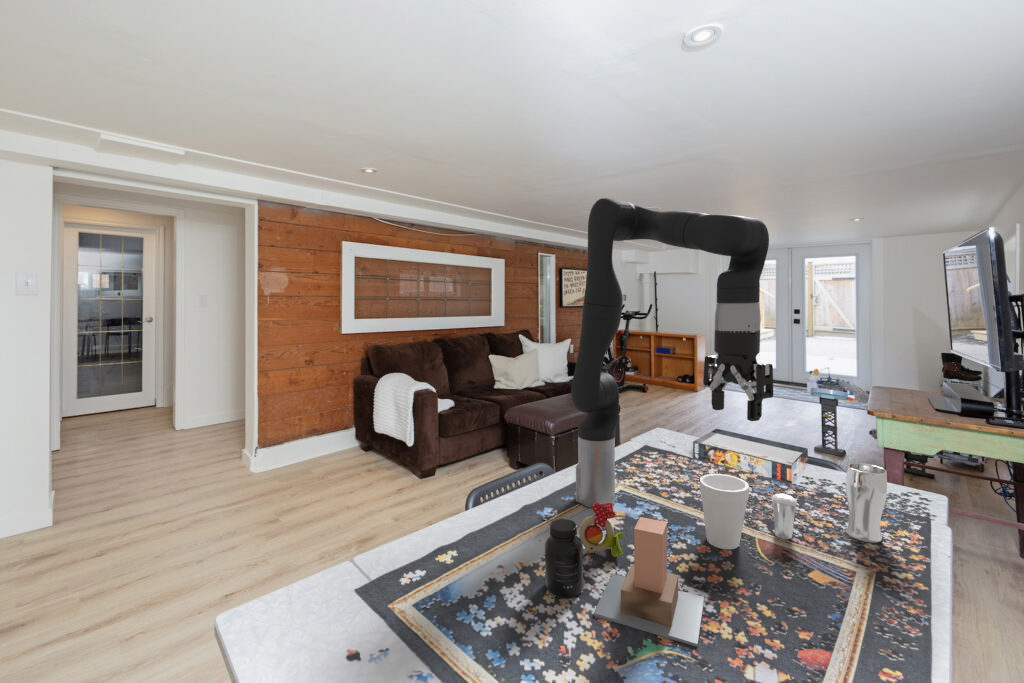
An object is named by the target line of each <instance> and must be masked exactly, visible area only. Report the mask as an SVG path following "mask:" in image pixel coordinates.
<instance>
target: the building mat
mask: <svg viewBox="0 0 1024 683" xmlns="http://www.w3.org/2000/svg"><path fill="white" fill-rule="evenodd" d="M625 578H626V576H623V575H619V574H616V573H611V575H610V578H609V580H608V582H607V584H606V587H604V588H605V589H604V590H603V592H602V594H601V597H600V598H599V601H598V603H597V605H596V606H595V609H594V611H593V617H596V618H599V619H603V620H605V621H606V620H607V621H609V622H613V623H616V624H620V625H624V626H625V627H629V628H633V629H636V630H639V631H643V632H647V633H649V634H653V635H656V636H660V637H663V638H666V639H669V640H673V641H676V642H679V643H682V644H686V645H689V646H692V647H696V648H698V646H699V640H700V639H699V637H700V634H701V633H700V631H701V626H702V617H703V609H704V603H705V596H701V595H698V594H694V593H692V592H691V593H690V592H686V591H682V590H679V589H678V600H677V605H676V609H675V614H674V618H673V622H672V627H669V626H666V625H662V624H659V623H655V622H652V621H648V620H645V619H641V618H638V617H635V616H631V615H628V614H624V613H621V588H622V585H623V583H624V581H625Z"/></svg>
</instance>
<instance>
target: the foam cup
mask: <svg viewBox="0 0 1024 683" xmlns="http://www.w3.org/2000/svg"><path fill="white" fill-rule="evenodd" d="M699 480H700V481H699V492H700V495H701V496H700V497H701V502H702V512H703V520H704V528H705V535H706V541H707V542H708V543H709V544H710V545H711V546H714V547H715V548H719V549H721V550H735V549H738V547H740V542H741V538H742V533H743V532H742V531H743V528H744V527H743V526H744V520H745V516H746V509H747V503H748V500H749V498H750V486H749V483H748V482H746V481H745V480H744V479H741V478H739V477H737V476H732V475H728V474H724V473H721V474H720V473H719V474H718V473H717V474H716V473H711V474H704V475H703V476H701V477H700V478H699Z"/></svg>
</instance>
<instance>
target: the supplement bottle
mask: <svg viewBox="0 0 1024 683" xmlns="http://www.w3.org/2000/svg"><path fill="white" fill-rule="evenodd" d="M544 556H545V557H544V559H545V564H544V565H545V585H546V586H545V587H546V589H547V591H548V592H549V593H550V594H551V595H552V596H555V597H557V598H561V599H571V598H575V597H576V596H578V595H579V594H581V593H582V591H583V589H584V545H583V544H582V541H581V540H580V538H579V532H578V526H577V523H576V522H575V521H574V520H572V519H567V518H558V519H554V520H553V521H552V522H550V524H549V535H548V536H547V538H546V540H545V542H544Z"/></svg>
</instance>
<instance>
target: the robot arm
mask: <svg viewBox="0 0 1024 683" xmlns="http://www.w3.org/2000/svg"><path fill="white" fill-rule="evenodd" d="M588 216H589V217H588V222H587V267H586V279H585V280H586V281H585V289H584V290H585V291H584V297H583V306H582V316H581V329H580V338H579V346H578V350H577V351H578V352H577V358H576V363H575V367H574V371H573V377H572V382H571V389H570V390H571V392H570V394H571V400H572V403H573V406H574V407H575V408H576V410H578V411H579V412H581V413H584V414H586V416H585V417H584V418H583V420H582V421H580V423H579V424H578V426H577V446H578V447H577V450H578V452H577V455H578V460H577V461H578V462H577V464H576V465H575V502H576V503H579V504H581V505H582V506H585V507H588V508H590V509H592V507H591V505H592V504H593V503H601V504H606V503H612V504H613V505H615V503H616V493H615V492H616V466H615V465H616V459H615V458H616V453H615V452H616V450H615V449H616V446H615V442H616V441H615V440H616V433H615V432H616V429H617V427H618V423H619V407H620V392H619V386H618V383H617V380H616V379H615V378H614V376H612V375H611V374H610V373H607V372H602V368H603V362H604V359H605V355H606V353H607V351H608V349H609V348H610V346H611V344H612V342H613V341H614V338H615V337H616V335H617V332H618V330H619V328H620V324H621V320H622V311H623V301H624V300H623V299H624V297H623V292H622V289H621V286H620V281H619V280H618V277H617V274H616V272H615V268H614V264H613V250H614V242H624V241H631V240H632V241H633V240H635V241H637V240H648V241H649V240H650V241H656V242H659V243H661V244H662V243H663V244H664V245H665V244H666V245H669V246H672V247H678V248H684V249H690V250H694V251H695V250H697V251H698V250H699V251H704V252H707V253H710V254H714V255H719V256H725V257H730V259H729V260H730V261H729V264H728V268H727V270H725V271H723V272H721V273H719V274H718V277H717V281H716V303H715V304H716V305H715V306H716V307H715V311H714V337H713V338H714V340H713V341H714V346H713V350H714V352H715V353H716V354H715V355H705V356H704V363H703V364H704V365H703V380H702V382H703V383H702V384H703V385H704V386H705V387H706V386H707V387H709V390H710V391H711V406H712V407H711V408H712V410H714V411H722V410H724V409H725V388H726V386H727V385H728V384H730V383H733V384H735V385H739V387H740V389H741V390H743V391H744V392H745V394H746V396H747V397H748V399H747V403H746V404H747V405H746V406H747V410H746V414H747V415H746V416H747V417H746V419H747V420H748V421H750V422H757V421H759V420H761V417H762V415H763V413H762V411H763V401H764V400H765V399H771V398H773V397H774V370H773V369H774V367H773V364H772V363H770V362H769V363H758V361H757V357H758V355H759V353H760V352H761V318H762V317H761V316H762V315H761V307H760V296H761V294H760V288H761V287H760V286H761V283H760V281H761V276H762V273H763V270H764V267H765V262H766V258H767V255H768V252H769V247H770V246H769V245H770V234H769V230H768V228H767V226H766V224H765V223H764V222H763V221H762V220H760V219H759V218H756V217H750V216H749V217H748V216H743V215H732V214H709V213H705V212H696V211H687V210H669V211H666V210H665V211H657V210H652V209H647V208H645V207H643V206H638V205H636V204H634V203H631V202H629V201H625V200H619V199H613V198H609V197H608V198H607V197H605V198H599V199H597V201H595V202H594V204H593V205H592V207H591V209H590V212H589V215H588Z"/></svg>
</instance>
